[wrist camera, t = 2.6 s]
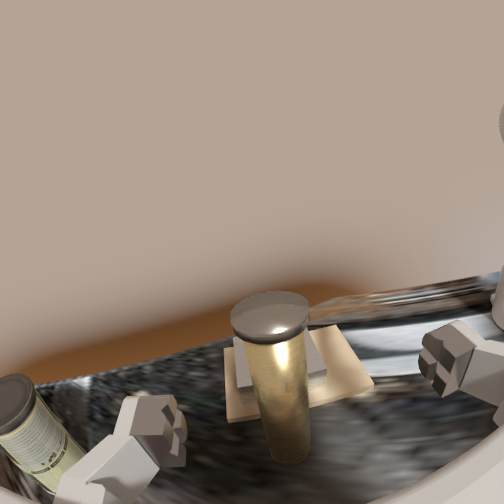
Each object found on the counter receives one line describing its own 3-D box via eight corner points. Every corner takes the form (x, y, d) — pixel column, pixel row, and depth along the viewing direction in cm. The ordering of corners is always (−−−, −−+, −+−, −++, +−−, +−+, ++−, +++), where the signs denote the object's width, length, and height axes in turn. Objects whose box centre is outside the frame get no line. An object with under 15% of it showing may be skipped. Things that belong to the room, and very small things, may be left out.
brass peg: (308, 426, 30) (297, 285, 24) (320, 462, 24) (319, 321, 18) (262, 436, 30) (228, 299, 23) (269, 473, 24) (231, 339, 18)
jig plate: (335, 329, 48) (335, 324, 48) (373, 388, 33) (374, 383, 33) (225, 352, 48) (223, 348, 47) (228, 423, 32) (227, 418, 32)
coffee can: (32, 491, 17) (-37, 424, 13) (44, 442, 27) (-8, 374, 22) (88, 501, 19) (14, 432, 14) (95, 443, 28) (42, 370, 24)
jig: (305, 340, 46) (304, 323, 45) (326, 386, 35) (326, 368, 34) (237, 353, 45) (233, 337, 44) (242, 404, 34) (237, 387, 33)
